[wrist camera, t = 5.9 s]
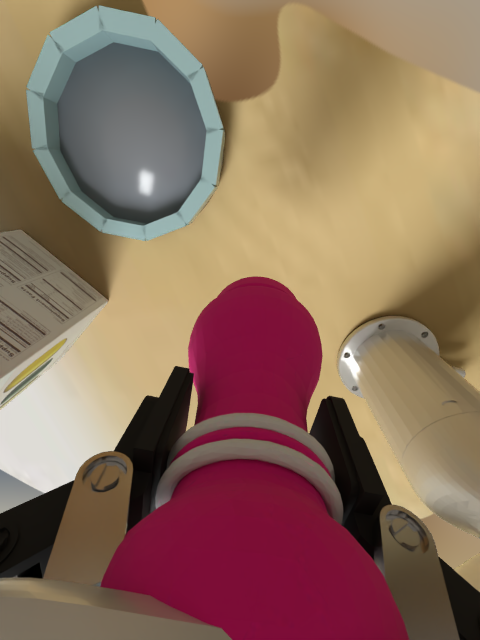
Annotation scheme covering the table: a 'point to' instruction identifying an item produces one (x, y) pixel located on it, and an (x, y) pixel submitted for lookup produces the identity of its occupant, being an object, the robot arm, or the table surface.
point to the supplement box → (37, 311)
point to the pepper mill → (255, 491)
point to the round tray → (125, 123)
